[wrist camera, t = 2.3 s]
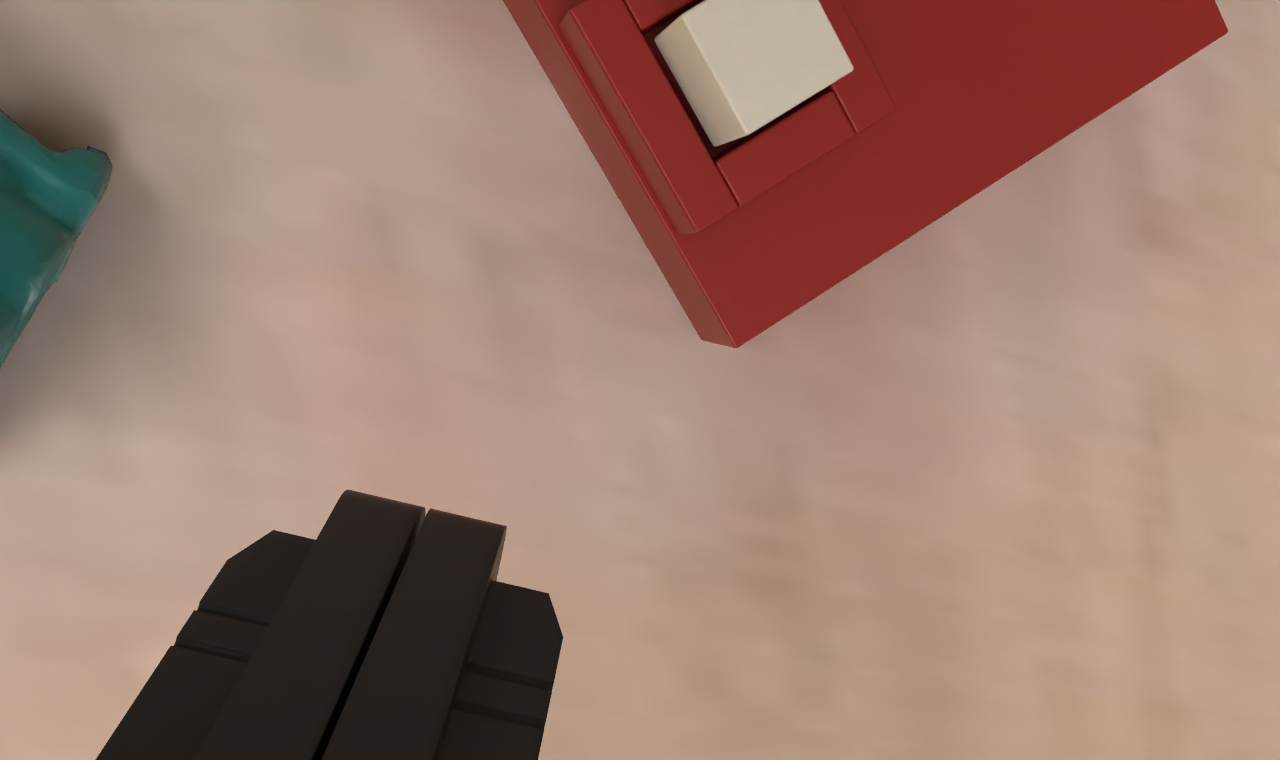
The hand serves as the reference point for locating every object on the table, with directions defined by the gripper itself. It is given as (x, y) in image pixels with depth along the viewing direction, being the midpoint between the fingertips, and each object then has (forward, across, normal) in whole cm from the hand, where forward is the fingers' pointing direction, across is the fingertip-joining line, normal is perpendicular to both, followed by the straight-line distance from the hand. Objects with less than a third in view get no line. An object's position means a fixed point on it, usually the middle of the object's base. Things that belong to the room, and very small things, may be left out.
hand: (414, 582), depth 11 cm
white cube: (+18, -3, -2) cm, 18 cm away
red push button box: (+24, -5, -2) cm, 25 cm away
